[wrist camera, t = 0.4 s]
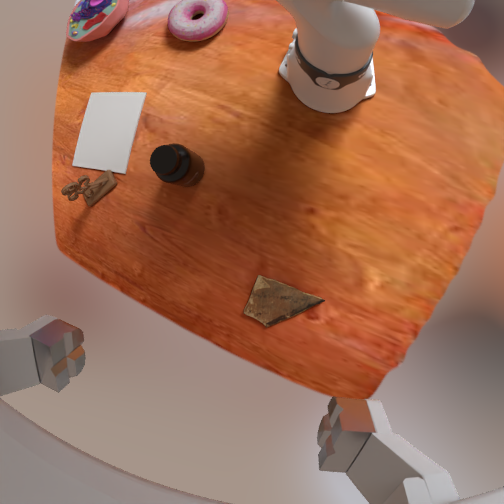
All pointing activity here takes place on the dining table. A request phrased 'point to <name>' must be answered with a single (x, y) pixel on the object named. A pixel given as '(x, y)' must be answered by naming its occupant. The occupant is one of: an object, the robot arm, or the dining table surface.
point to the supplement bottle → (177, 165)
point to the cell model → (95, 18)
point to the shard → (277, 301)
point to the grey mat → (109, 130)
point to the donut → (207, 26)
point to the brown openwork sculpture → (91, 188)
